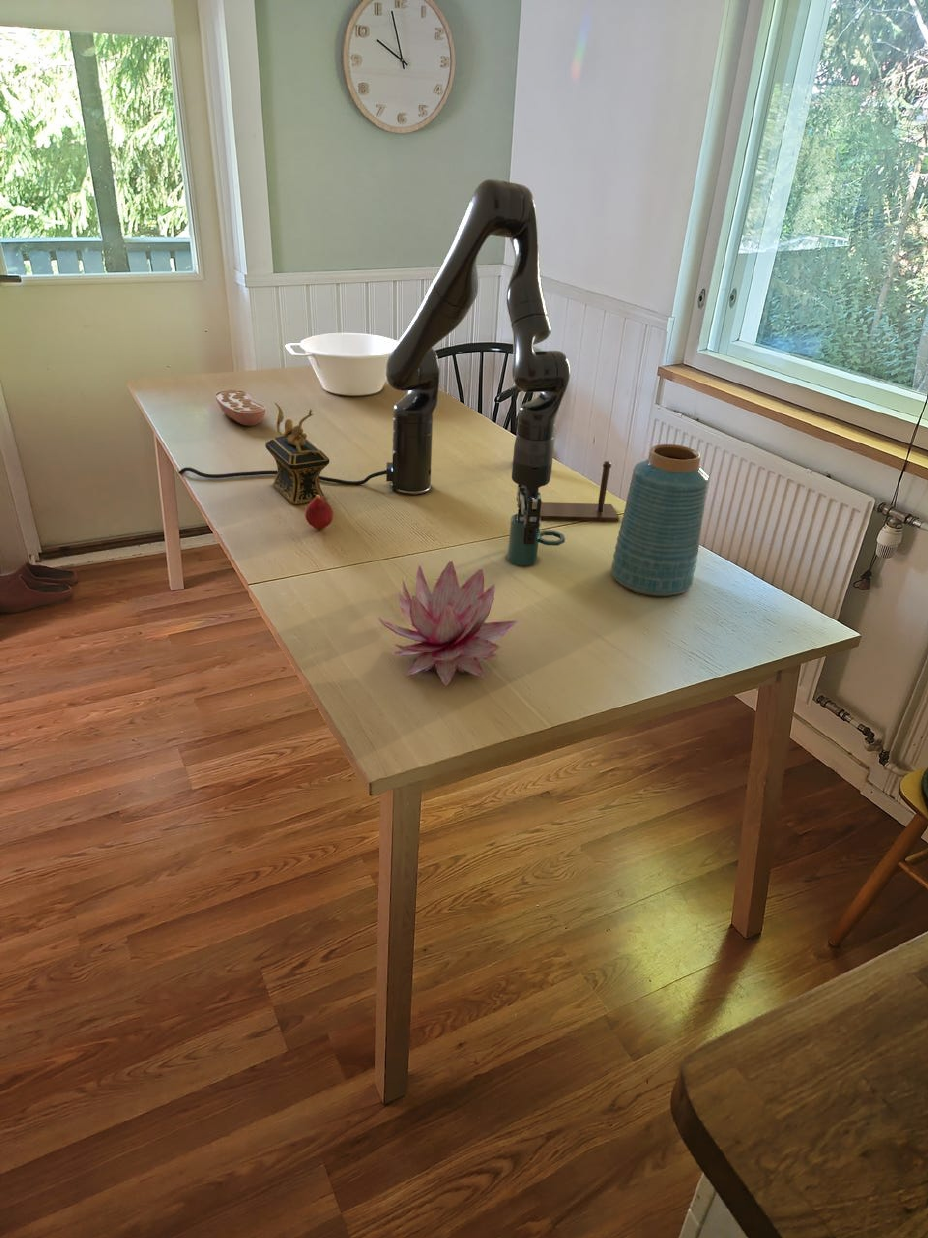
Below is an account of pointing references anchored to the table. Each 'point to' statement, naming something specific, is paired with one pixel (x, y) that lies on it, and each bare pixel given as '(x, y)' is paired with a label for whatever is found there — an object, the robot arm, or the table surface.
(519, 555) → the mug
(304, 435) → the decorative box
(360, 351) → the pot
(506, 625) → the decorative flower
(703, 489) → the vase
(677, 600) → the table surface
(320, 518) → the onion
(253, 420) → the anatomical model
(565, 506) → the mug stand
